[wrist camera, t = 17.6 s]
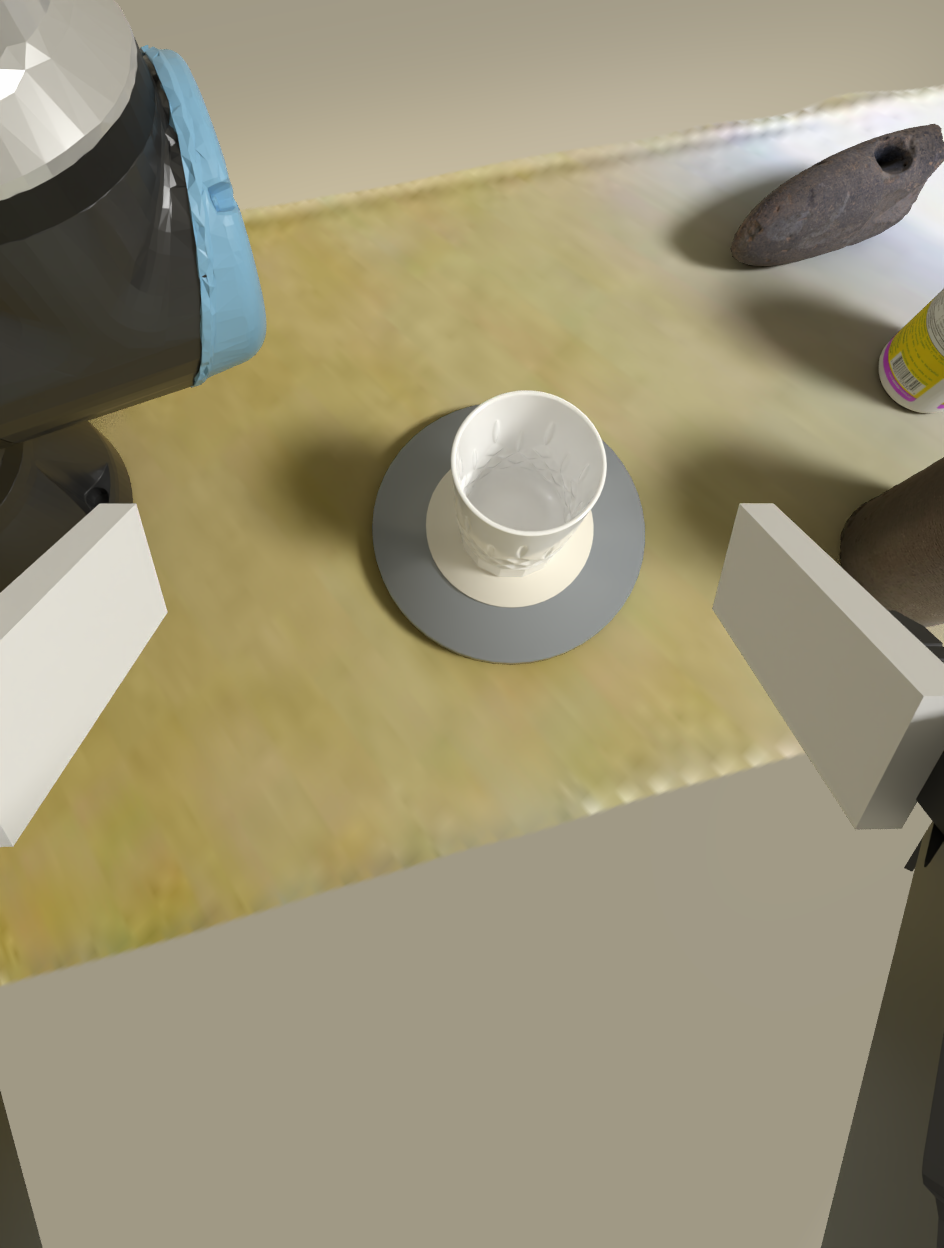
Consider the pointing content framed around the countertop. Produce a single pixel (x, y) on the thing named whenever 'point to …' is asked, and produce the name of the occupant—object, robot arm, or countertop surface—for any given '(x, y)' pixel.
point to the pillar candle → (901, 547)
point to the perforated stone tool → (841, 199)
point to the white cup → (524, 479)
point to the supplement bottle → (917, 361)
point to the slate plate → (480, 601)
